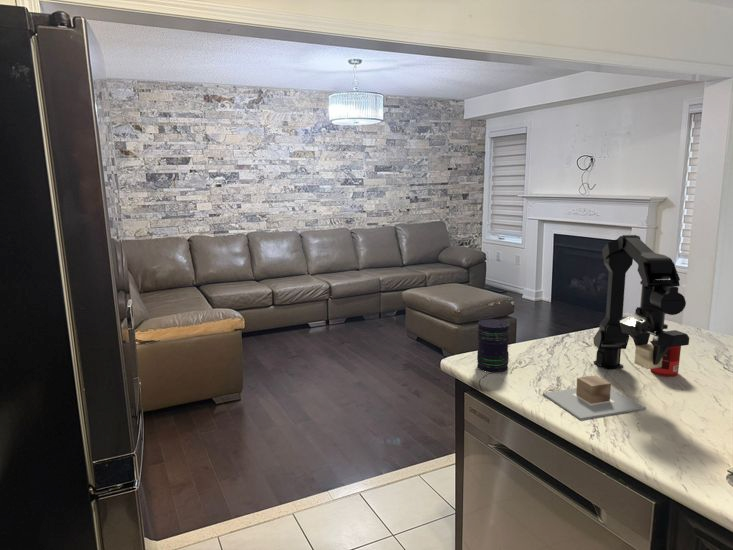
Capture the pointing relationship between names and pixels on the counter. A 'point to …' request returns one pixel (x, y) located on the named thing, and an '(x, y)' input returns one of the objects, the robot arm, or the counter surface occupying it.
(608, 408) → the build mat
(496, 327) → the black jar
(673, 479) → the counter surface
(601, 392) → the walnut block
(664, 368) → the canned food
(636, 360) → the maple block
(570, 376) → the counter surface
